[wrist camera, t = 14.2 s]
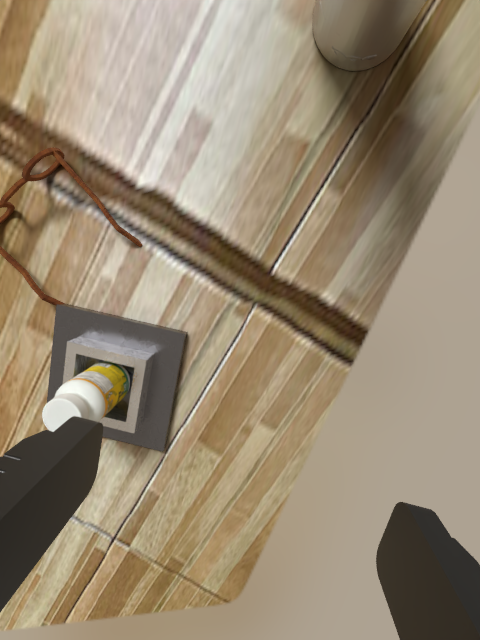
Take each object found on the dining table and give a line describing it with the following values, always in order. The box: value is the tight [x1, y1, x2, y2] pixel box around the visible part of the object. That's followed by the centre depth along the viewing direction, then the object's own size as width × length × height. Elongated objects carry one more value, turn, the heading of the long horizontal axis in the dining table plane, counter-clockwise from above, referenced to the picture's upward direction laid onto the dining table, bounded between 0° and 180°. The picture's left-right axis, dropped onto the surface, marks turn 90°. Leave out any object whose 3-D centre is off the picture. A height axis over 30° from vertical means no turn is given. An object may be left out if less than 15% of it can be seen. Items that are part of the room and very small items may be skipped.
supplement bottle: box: [42, 361, 130, 432], centre depth 34 cm, size 5×5×10 cm
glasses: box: [0, 148, 142, 306], centre depth 35 cm, size 13×13×5 cm
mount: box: [47, 304, 187, 452], centre depth 38 cm, size 16×16×4 cm
